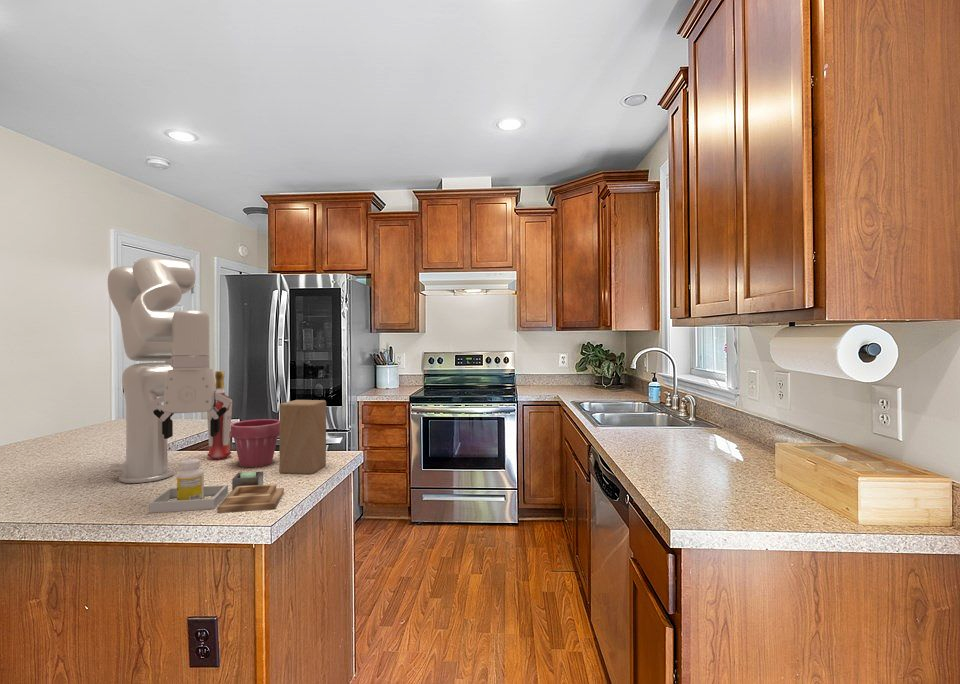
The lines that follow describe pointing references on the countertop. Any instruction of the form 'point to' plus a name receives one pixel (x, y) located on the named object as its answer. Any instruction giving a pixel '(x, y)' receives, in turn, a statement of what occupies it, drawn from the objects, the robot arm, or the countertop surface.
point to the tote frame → (184, 505)
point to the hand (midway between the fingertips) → (191, 436)
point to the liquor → (221, 441)
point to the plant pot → (255, 441)
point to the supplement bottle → (190, 481)
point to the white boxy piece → (247, 480)
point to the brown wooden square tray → (251, 498)
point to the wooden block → (302, 436)
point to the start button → (248, 474)
